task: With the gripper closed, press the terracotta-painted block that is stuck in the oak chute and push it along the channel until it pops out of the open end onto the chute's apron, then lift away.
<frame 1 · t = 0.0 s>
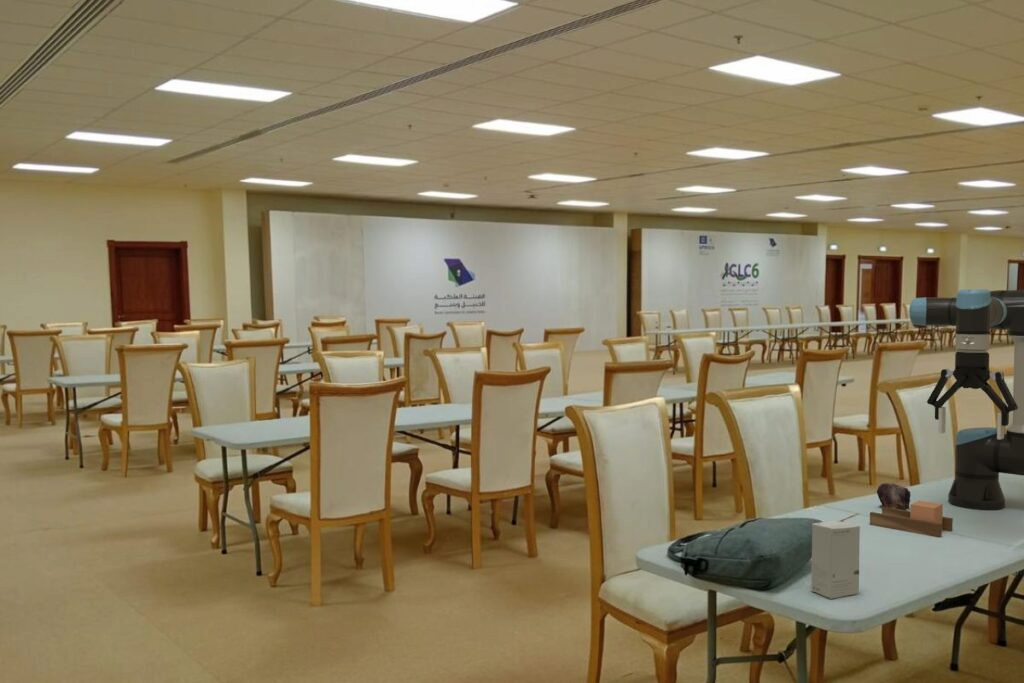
hand: (970, 435, 216), 28 cm above the table, tool pointing down, fingers open, 13 cm apart
rock: (893, 512, 252), on the table
chute: (895, 529, 233), on the table
skincare box: (834, 593, 183), on the table
block: (926, 517, 227), point 5 cm above the table, slide at 0.0 cm
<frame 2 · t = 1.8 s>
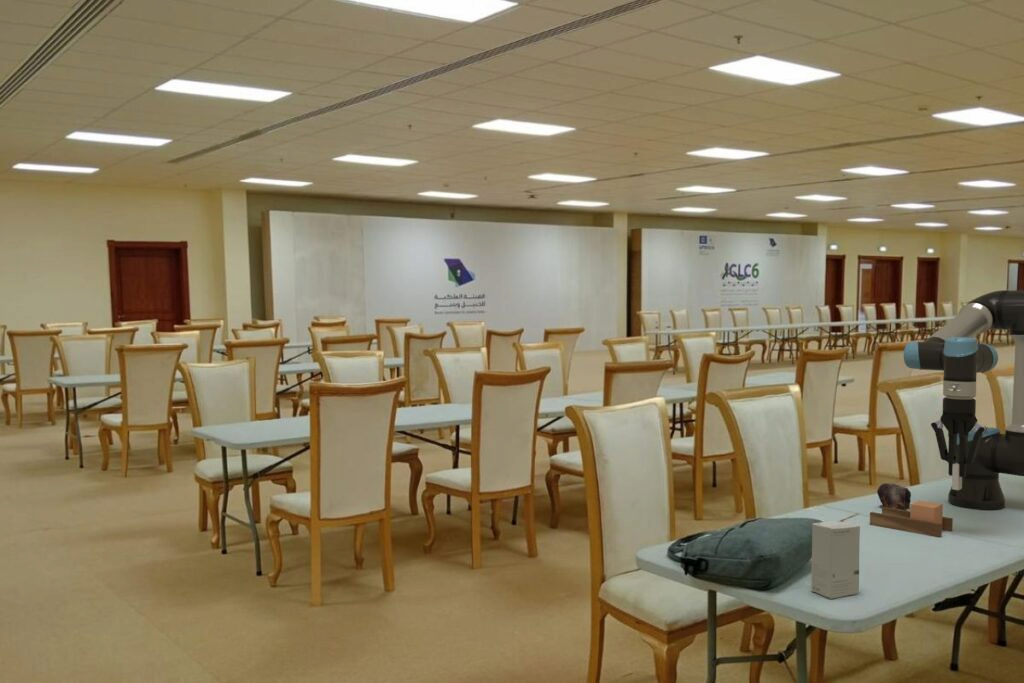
hand: (956, 488, 221), 14 cm above the table, tool pointing down, fingers closed
nothing on the table moved.
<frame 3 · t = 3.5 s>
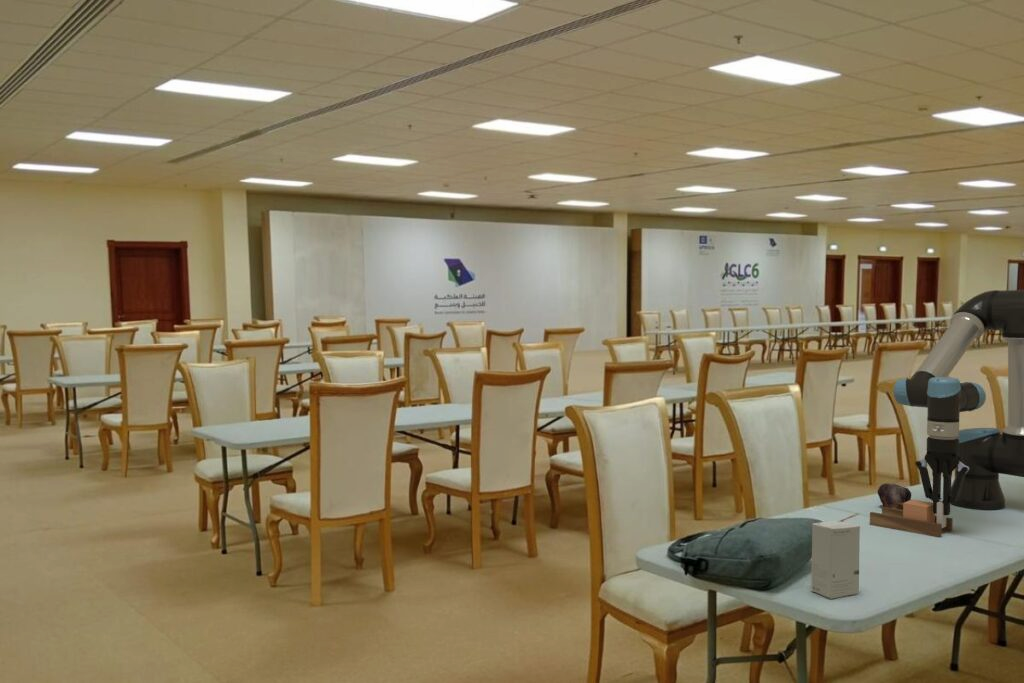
hand: (941, 526, 225), 3 cm above the table, tool pointing down, fingers closed
block: (919, 516, 228), point 5 cm above the table, slide at 1.9 cm, touching gripper
everything else where it was.
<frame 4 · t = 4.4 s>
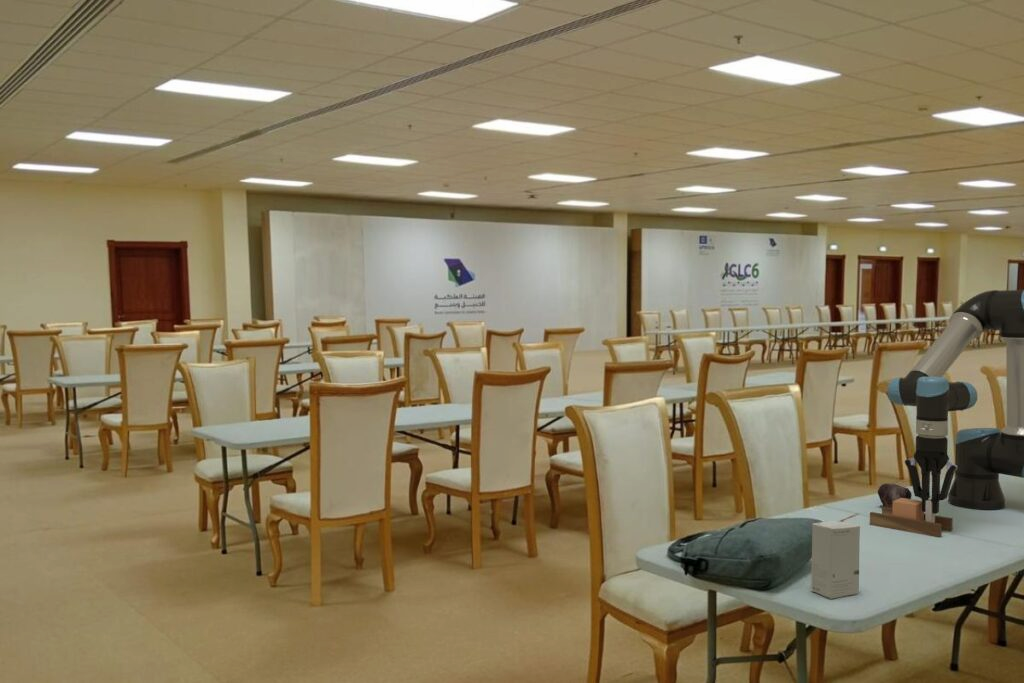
hand: (930, 524, 227), 3 cm above the table, tool pointing down, fingers closed
block: (908, 514, 230), point 5 cm above the table, slide at 4.6 cm, touching gripper
everything else where it was.
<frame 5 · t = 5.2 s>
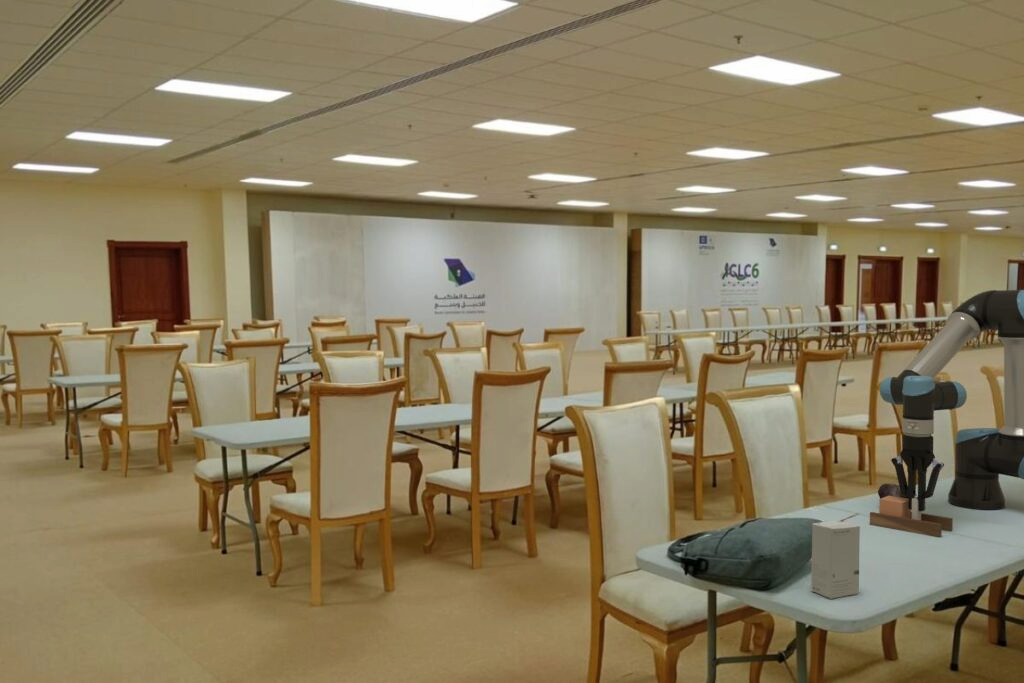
hand: (916, 522, 229), 3 cm above the table, tool pointing down, fingers closed
block: (894, 512, 233), point 5 cm above the table, slide at 8.2 cm, touching gripper
everything else where it was.
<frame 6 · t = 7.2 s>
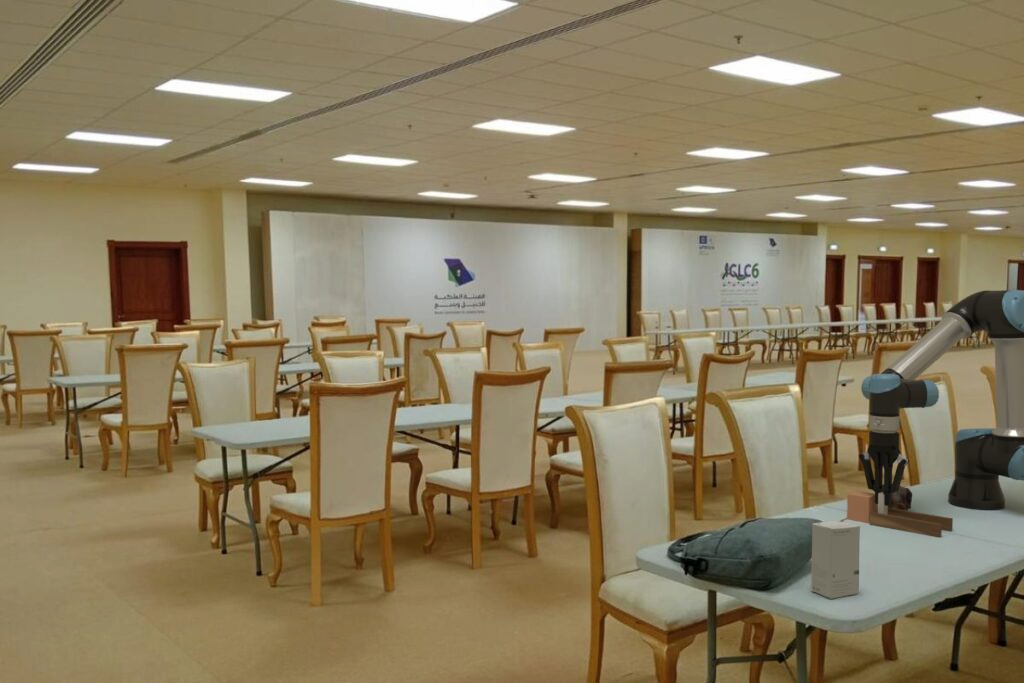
hand: (882, 516, 235), 3 cm above the table, tool pointing down, fingers closed
block: (862, 506, 239), point 5 cm above the table, slide at 17.0 cm, touching gripper
everything else where it was.
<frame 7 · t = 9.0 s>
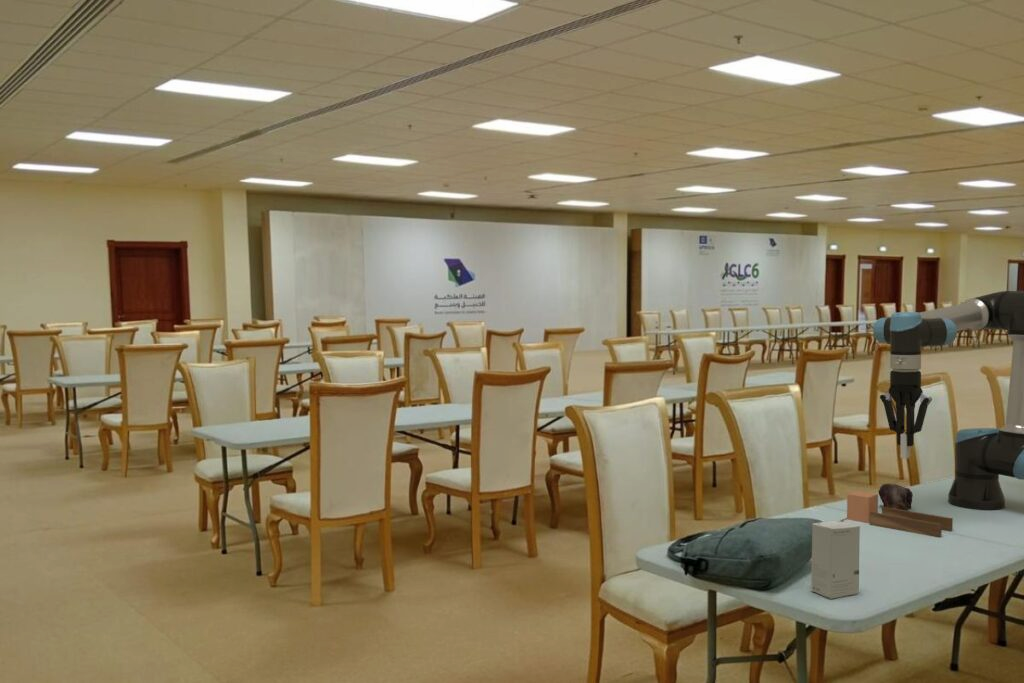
hand: (905, 457, 231), 20 cm above the table, tool pointing down, fingers closed
block: (862, 506, 239), point 5 cm above the table, slide at 17.0 cm
everything else where it was.
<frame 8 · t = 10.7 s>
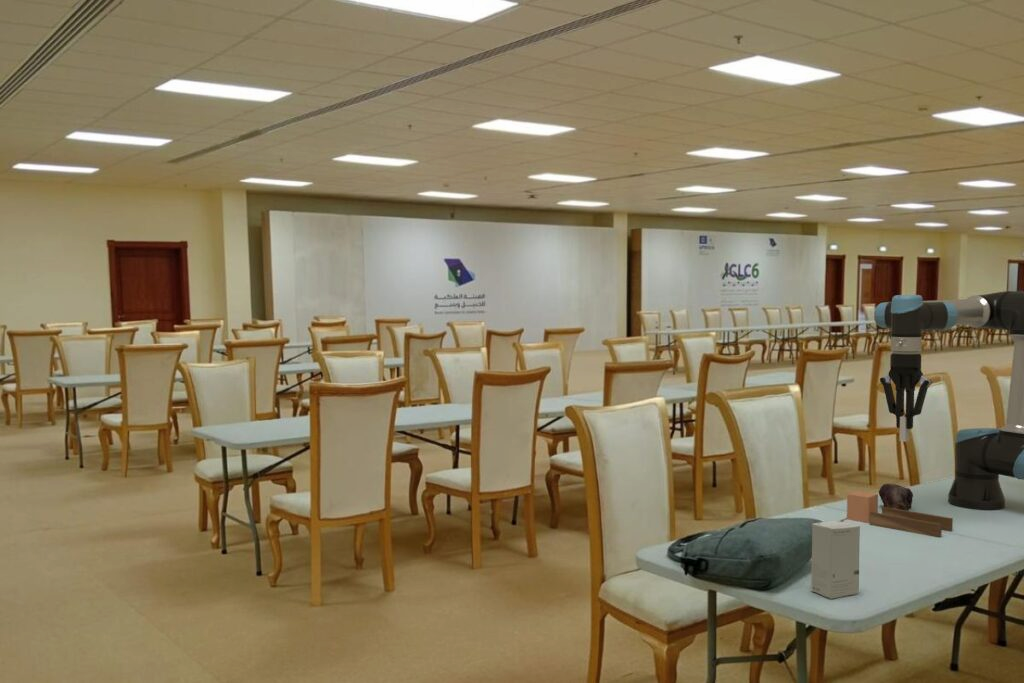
hand: (904, 440, 230), 24 cm above the table, tool pointing down, fingers closed
nothing on the table moved.
at the end: block slide at 17.0 cm; block inside the target area (0.0 cm from its centre), point 4.7 cm above the table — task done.
